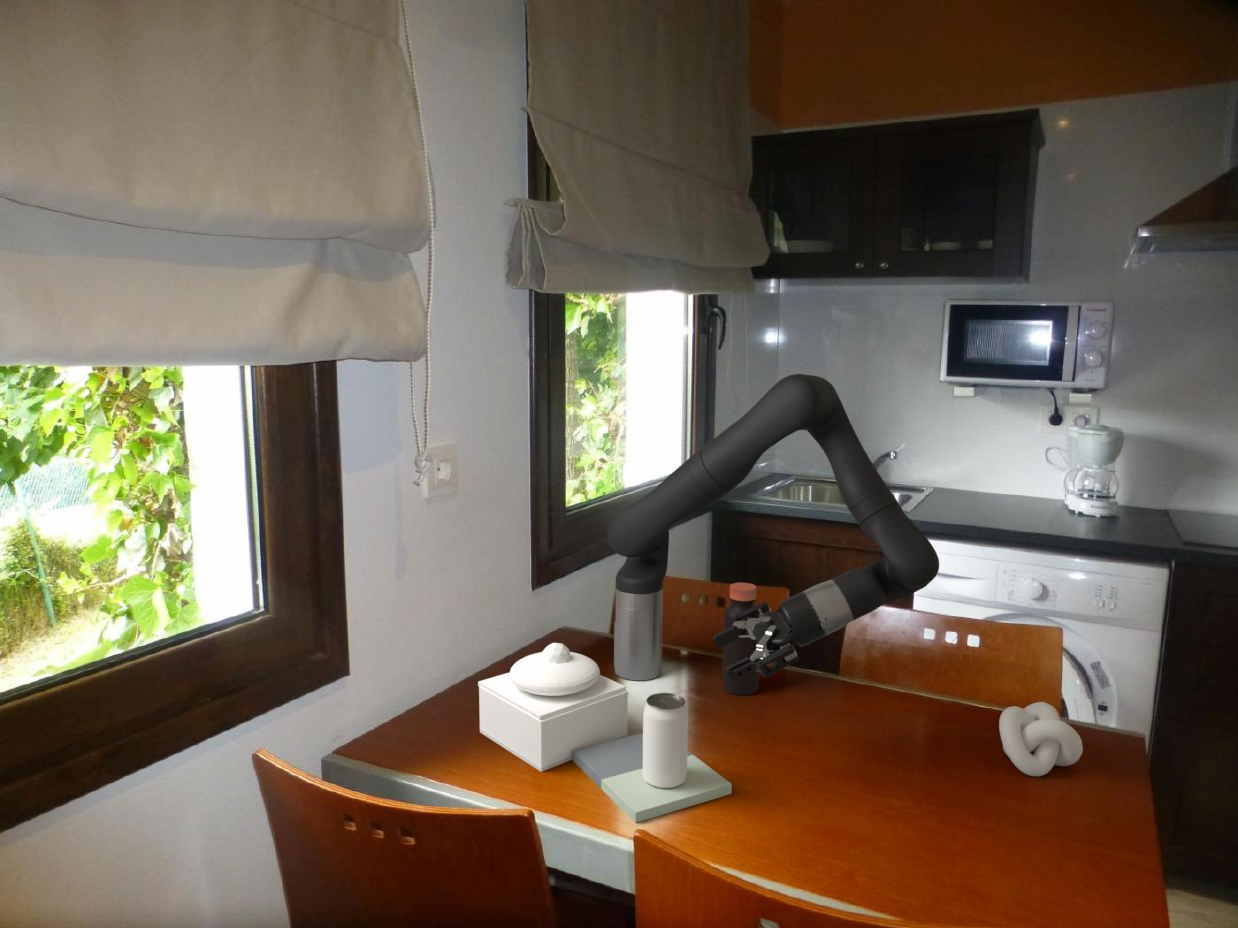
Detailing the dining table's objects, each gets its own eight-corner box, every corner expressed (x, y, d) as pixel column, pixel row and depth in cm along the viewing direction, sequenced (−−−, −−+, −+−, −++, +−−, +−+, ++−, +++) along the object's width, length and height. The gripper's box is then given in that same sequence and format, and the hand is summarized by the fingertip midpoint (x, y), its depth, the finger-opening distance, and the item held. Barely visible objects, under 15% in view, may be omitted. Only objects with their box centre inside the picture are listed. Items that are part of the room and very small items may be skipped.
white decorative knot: (1038, 792, 124) (1043, 734, 122) (972, 756, 134) (976, 702, 133) (1090, 776, 128) (1095, 720, 127) (1022, 742, 139) (1027, 690, 138)
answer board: (571, 759, 132) (571, 750, 132) (659, 737, 140) (659, 728, 140) (635, 822, 115) (635, 812, 115) (731, 793, 123) (731, 783, 122)
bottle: (732, 678, 165) (735, 579, 162) (764, 687, 161) (767, 585, 158) (715, 690, 159) (718, 587, 156) (748, 699, 155) (751, 593, 153)
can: (686, 768, 127) (688, 692, 125) (686, 791, 120) (688, 711, 119) (643, 766, 127) (644, 690, 126) (641, 788, 121) (642, 709, 119)
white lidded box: (541, 773, 129) (540, 672, 126) (478, 732, 142) (476, 640, 140) (627, 738, 140) (628, 646, 138) (561, 703, 153) (561, 619, 151)
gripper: (792, 571, 136) (701, 615, 137) (825, 618, 123) (724, 666, 124) (807, 607, 139) (719, 650, 140) (841, 656, 126) (743, 703, 127)
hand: (721, 657), depth 132 cm, fingers open, 8 cm apart
